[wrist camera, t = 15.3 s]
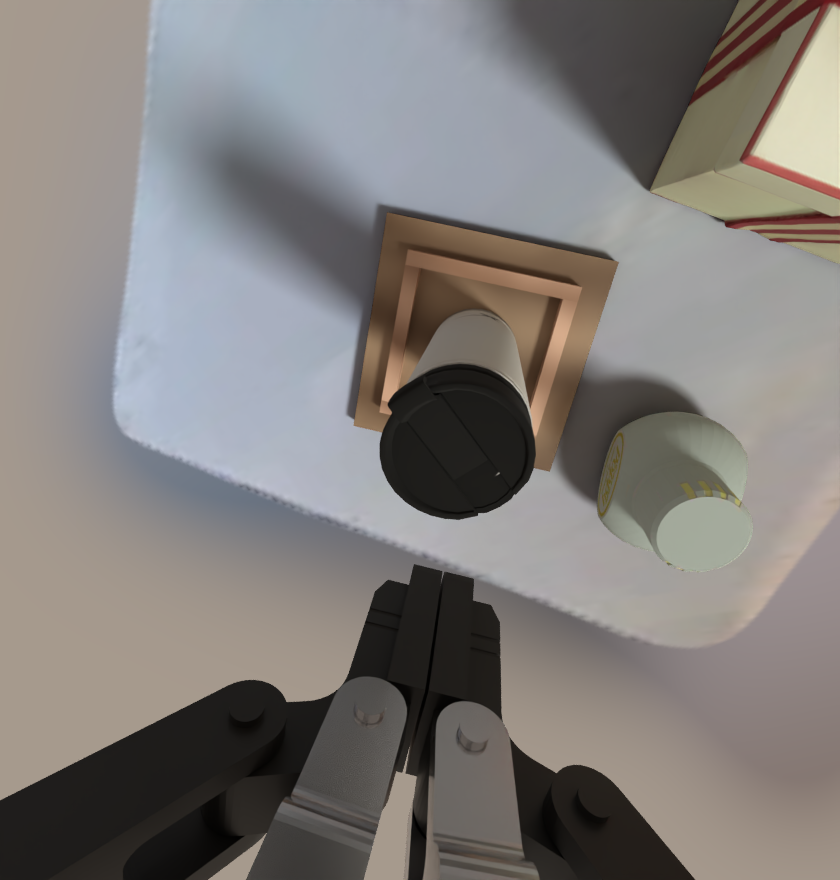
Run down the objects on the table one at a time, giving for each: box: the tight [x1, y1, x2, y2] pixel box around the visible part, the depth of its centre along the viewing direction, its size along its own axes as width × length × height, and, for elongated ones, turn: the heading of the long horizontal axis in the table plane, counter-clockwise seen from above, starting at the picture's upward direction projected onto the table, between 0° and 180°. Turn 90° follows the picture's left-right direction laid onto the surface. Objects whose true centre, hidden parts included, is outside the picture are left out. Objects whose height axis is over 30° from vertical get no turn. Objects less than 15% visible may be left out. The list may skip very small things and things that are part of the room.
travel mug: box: [380, 308, 536, 520], centre depth 29 cm, size 6×7×20 cm
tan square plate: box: [354, 212, 619, 471], centre depth 38 cm, size 16×16×2 cm
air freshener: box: [597, 412, 753, 572], centre depth 36 cm, size 11×8×10 cm
